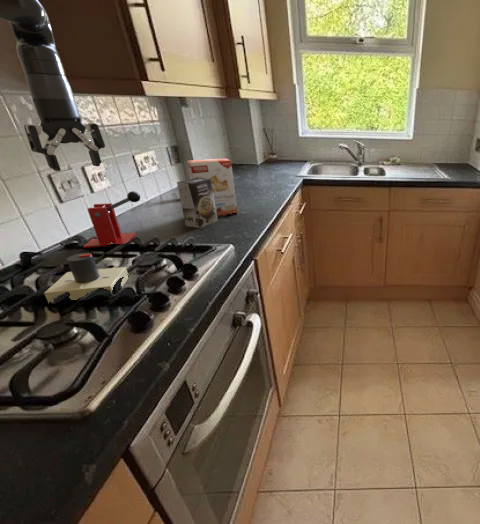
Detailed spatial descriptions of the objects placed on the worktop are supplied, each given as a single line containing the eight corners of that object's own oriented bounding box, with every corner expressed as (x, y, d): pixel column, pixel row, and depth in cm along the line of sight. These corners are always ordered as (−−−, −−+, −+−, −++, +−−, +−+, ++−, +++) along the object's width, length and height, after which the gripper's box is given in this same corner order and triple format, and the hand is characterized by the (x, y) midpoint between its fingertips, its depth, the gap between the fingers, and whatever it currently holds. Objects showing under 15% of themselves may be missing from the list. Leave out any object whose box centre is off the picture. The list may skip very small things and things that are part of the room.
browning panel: (49, 305, 71) (43, 292, 69) (71, 283, 79) (66, 271, 78) (114, 297, 74) (110, 285, 73) (129, 277, 83) (125, 266, 81)
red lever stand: (137, 236, 107) (126, 201, 102) (128, 247, 99) (116, 209, 94) (97, 239, 104) (84, 202, 99) (84, 250, 96) (69, 211, 91)
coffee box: (200, 230, 114) (190, 183, 107) (185, 227, 116) (175, 181, 109) (219, 222, 122) (211, 178, 115) (205, 220, 124) (196, 176, 117)
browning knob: (71, 284, 73) (61, 260, 70) (80, 275, 77) (71, 252, 74) (95, 281, 74) (86, 258, 72) (103, 273, 78) (95, 250, 75)
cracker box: (200, 219, 124) (189, 162, 115) (197, 215, 128) (186, 159, 119) (238, 214, 132) (230, 159, 123) (234, 210, 136) (226, 157, 127)
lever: (144, 197, 101) (136, 188, 99) (141, 200, 98) (133, 190, 96) (103, 216, 100) (95, 207, 98) (99, 220, 97) (90, 210, 95)
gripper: (80, 97, 84) (100, 163, 91) (4, 95, 73) (34, 170, 80) (96, 98, 81) (116, 166, 88) (20, 96, 70) (50, 174, 77)
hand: (77, 168), depth 84 cm, fingers open, 8 cm apart
